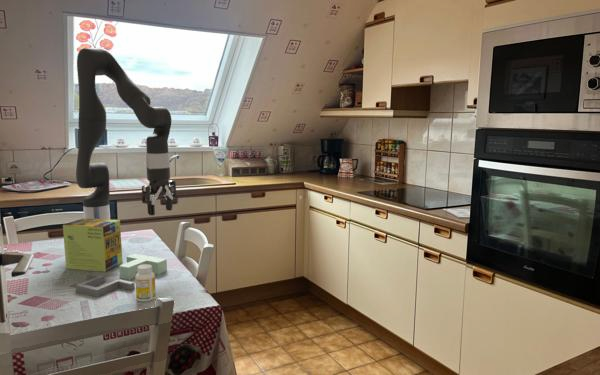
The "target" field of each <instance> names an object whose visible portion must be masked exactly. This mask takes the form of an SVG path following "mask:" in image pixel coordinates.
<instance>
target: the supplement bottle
mask: <svg viewBox="0 0 600 375" xmlns="http://www.w3.org/2000/svg"><path fill="white" fill-rule="evenodd" d="M137 271H138V273H137V274H136V276H135V277H134V279H135V280H134V281H135V295H136V300H137V301H139V302H142V303H143V302H144V303H145V302H149V301H152V300H154V299H155V298H156V292H157V291H156V274H154V273H153V272H151V271H152V265H149V264H143V265H139V266H138V267H137Z"/></svg>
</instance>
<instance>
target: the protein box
mask: <svg viewBox="0 0 600 375" xmlns="http://www.w3.org/2000/svg"><path fill="white" fill-rule="evenodd" d="M62 229H63V230H62V233H63V245H64V256H65V269H67V270H79V271H80V270H81V271H91V272H108V271H110V270H111V269H113V268H115V267H117V266H120V265H121V264H123V261H124V260H123V250H122V249H123V248H122V232H121V220H120V219H110V220H108V219H87V218H84V217H83V218H79V219H77V220H73V221H69V222H67V223H64V224H62Z"/></svg>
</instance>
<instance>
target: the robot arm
mask: <svg viewBox="0 0 600 375" xmlns="http://www.w3.org/2000/svg"><path fill="white" fill-rule="evenodd" d="M76 71H77V80H78V81H77V82H78V84H77V85H78V149H77V150H78V151H77V159H76V170H75V179H76V183H77V185H78V187H79V188H80V189H94V188H95V190H94V191H93V192H92V193H90V194H88V195H87V196H85V197H84V198H83V199H82V205H83V206H82V207H83V208H82V209H83V218H87V219H108V220H111V212H110V210H111V209H110V197H111V196H110V170H109V168H108V165H107V164H106V163H105V162H92V163H91V158H92V155H93V152H94V150H95V148H96V147H97V146H98V145H99V143H100V142H101V140H102V139H103V137H104V136H105V133H106V130H107V110H106V109H105V107H104V104H103V103H102V101H101V99H100V97H99V95H98V93H97V88H96V76H106V77H107V78H109V79H110V80H111V81H113V83H114V84H115V87H116V91H117V95H118V96H119V98H120V99H121V100H122V101H123V102H124V103H125V104H126V105H127V106H128V107H129V108H130V109H131V110H132V111H133V113H134V114H135V117H136V118H137V120H138V121H139V123H140V124H141V125H142V126H144V127H145V128H148V129H153V133H152V134H151V135H149V136H147V138H146V140H145V141H146V142H145V143H146V158H145V159H146V160H145V161H146V176H147V177H146V178H147V180H148V182H149V184H148V185H144V184H143V185H142V186H141V202H142V204H146V205H147V214H148V215H149V216H152V217H153V216H155V214H156V212H155V208H156V207H155V202H156V200H157V199H158V198H159V197H161V196H164V198H165V210H166V211H172V210H173V200H174V199H175V198H177V188H176V187H177V186H176V185H177V184H176V181H175V180H172V179H171V166H170V155H169V144H168V140H169V136H170V133H171V132H170V131H171V127H172V126H171V125H172V115H171V112H170V111H169V109H168V108H166V107H164V106H151V98H150V97H149V96H148V94H146V93H145V92H144V91H143V90H142V89H141V88H140V87H139V86H138V85H137V84H136V83H135V82H134V81H133V79H131V78H130V76H129V75H128V74H127V73H126V71H125V69H124V68H123V67H122V66H121V65H120V63H119V62H118V61H117V59H116V58H115V57H114V56H113V54H112V53H111V52H110V51H109V50H107V49H104V48H97V47H96V48H95V47H94V48H93V47H83V48H81V49H80V50H79V52H78V53H77V57H76ZM170 179H171V180H170Z"/></svg>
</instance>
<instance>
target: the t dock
mask: <svg viewBox="0 0 600 375" xmlns="http://www.w3.org/2000/svg"><path fill="white" fill-rule="evenodd" d="M85 275H86V280H85V281H82V282H79V283H78V284H75V291H76V293H80V294H84V295H88V296H89V295H90V296H93V297H96V298H97V297H99V296H103V295H105V294H107V293H110V292H112V291H114V290H116V289H124V290H127V291H132V290H136V284H135V282H134V281H130V280H127V279H122V278H118V279H116V280H112V281H110V282H108V283H106V276H105V275H102V274H98V273H93V272H88V273H86V274H85ZM104 283H106V284H104ZM101 284H102V285H101ZM99 285H100V286H99ZM97 286H98V287H97Z"/></svg>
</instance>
